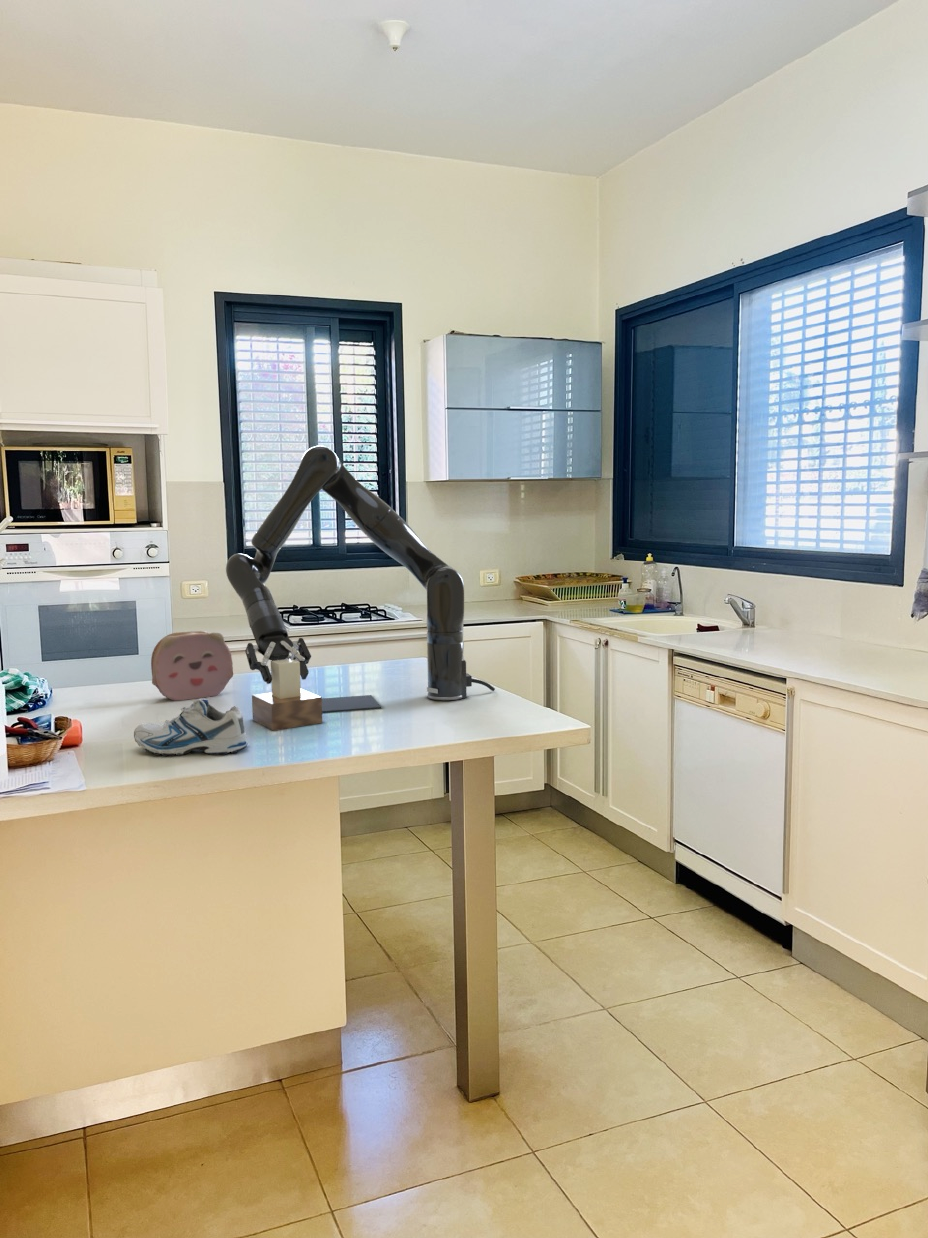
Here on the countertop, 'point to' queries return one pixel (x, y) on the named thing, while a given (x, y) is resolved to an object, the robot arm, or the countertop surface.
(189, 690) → the face sculpture
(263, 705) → the brown box
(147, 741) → the athletic shoe
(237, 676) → the countertop surface
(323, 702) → the rubber mat
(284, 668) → the cream box
